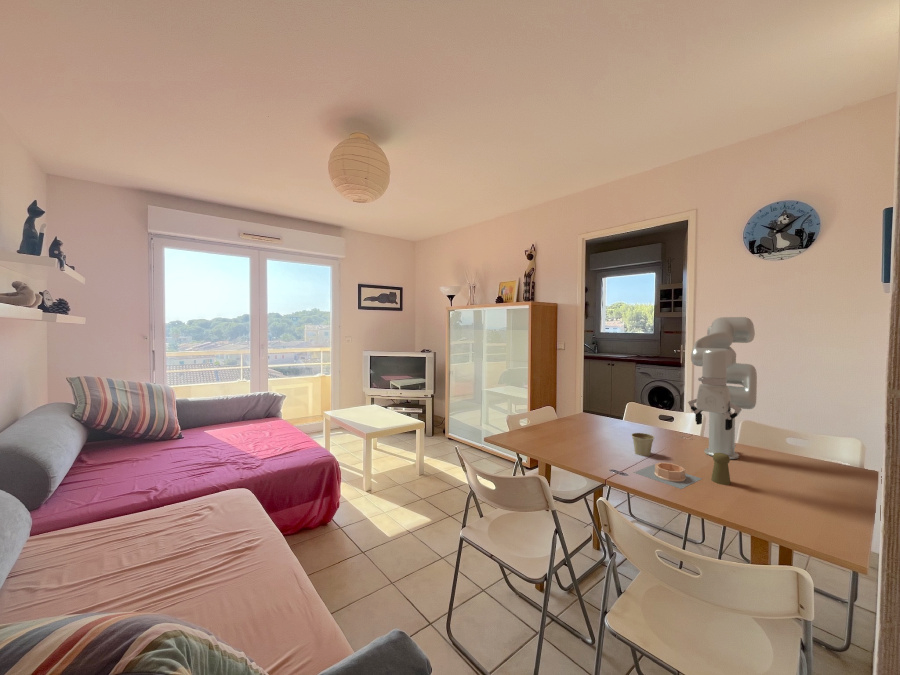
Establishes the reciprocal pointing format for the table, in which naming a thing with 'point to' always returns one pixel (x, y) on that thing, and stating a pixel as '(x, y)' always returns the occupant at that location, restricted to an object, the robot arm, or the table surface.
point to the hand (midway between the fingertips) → (713, 426)
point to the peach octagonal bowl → (670, 472)
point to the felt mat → (650, 473)
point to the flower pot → (642, 443)
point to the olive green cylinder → (721, 469)
